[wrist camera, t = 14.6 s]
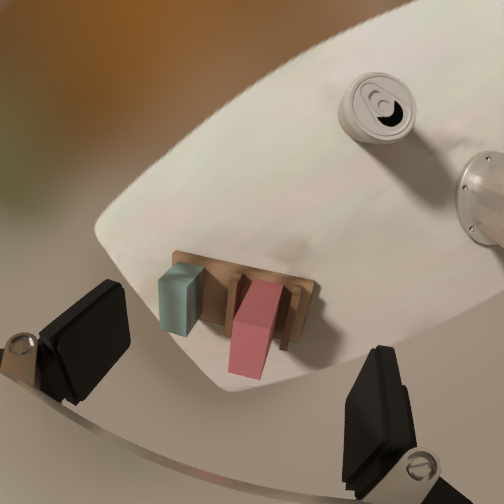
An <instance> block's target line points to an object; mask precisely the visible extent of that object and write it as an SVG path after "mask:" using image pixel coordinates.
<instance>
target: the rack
mask: <svg viewBox="0 0 504 504" xmlns="http://www.w3.org/2000/svg"><path fill="white" fill-rule="evenodd" d="M254 279H257V280H262V281H267V282H272V283H276V284H281V285H283V290H282V295H281V300H280V305H279V310H278V315H277V320H276V325H275V330H274V334H273V337H274V338H278V339H282V341H281V345H280V349H279V350H283V351H286V350H287V347H288V343H289V341H292V342H297V343H298V342H299V339H300V335H301V332H302V328H303V324H304V321H305V317H306V313H307V310H308V306H309V302H310V298H311V294H312V291H313V287H314V280H309V279H304V278H300V277H295V276H290V275H286V274H281V273H276V272H272V271H267V270H262V269H258V268H253V267H249V266H244V265H239V264H235V263H230V262H226V261H221V260H217V259H212V258H208V257H203V256H199V255H195V254H190V253H186V252H181V251H177V250H176V251H175V252H173V253H172V268H170V269H169V270H168V271H167V272H166V273H165V274H164V275H163V276H162V277H161V278H160V279H159V280H158V291H159V314H160V329H162V330H165V331H168V332H171V333H174V334H177V335H180V336H183V337H187V335H188V334H189V332H190V331H191V329H192V328H193V327H194V325H195V324H196V322H197V321H198V319H202V320H206V321H210V322H213V323H217V324H221V325H225V330H224V336H226V337H229V338H231V336H232V326H233V320H234V318H235V316H236V314H237V312H238V310H239V308H240V306H241V304H242V302H243V300H244V298H245V296H246V294H247V292H248V290H249V288H250V286H251V284H252V282H253V280H254Z"/></svg>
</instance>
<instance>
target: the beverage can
mask: <svg viewBox="0 0 504 504" xmlns="http://www.w3.org/2000/svg"><path fill="white" fill-rule="evenodd" d="M338 118H339V122H340V125H341V127H342V128H343V130H344V131H345V133H346V134H347V135H349V136H350V137H351V138H353V139H354V140H357V141H359V142H364V143H374V144H391V143H396V142H398V141H400V140H402V139H403V138H405V137H406V136H407V135H408V134H409V133H410V131H411V130H412V128H413V126H414V123H415V119H416V104H415V100H414V97H413V95H412V93H411V91H410V90H409V89H408V87H407V86H406V85H405V84H404V83H403V82H402V81H400V80H399V79H397V78H395V77H393V76H391V75H389V74H386V73H381V72H370V73H365V74H363V75H360V76H359V77H357V78H356V79H354V80H353V81H352V82H351V84H350V85H349V86H348V88H347V90H346V92H345V94H344V96H343V98H342V100H341V103H340V105H339V109H338Z"/></svg>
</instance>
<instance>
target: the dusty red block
mask: <svg viewBox="0 0 504 504" xmlns="http://www.w3.org/2000/svg"><path fill="white" fill-rule="evenodd" d="M282 290H283V285H281V284H276V283H272V282H267V281H262V280H257V279H254V280H253V282H252V284H251V286H250V288H249V290H248V292H247V294H246V296H245V298H244V300H243V302H242V304H241V306H240V308H239V310H238V312H237V314H236V316H235V318H234V320H233V326H232V336H231V346H230V356H229V367H228V372H230V373H234V374H238V375H242V376H246V377H250V378H254V379H258V380H260V379H261V375H262V372H263V369H264V365H265V362H266V358H267V355H268V352H269V348H270V345H271V341H272V338H273V334H274V330H275V325H276V320H277V315H278V310H279V305H280V300H281V295H282Z"/></svg>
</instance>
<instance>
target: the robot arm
mask: <svg viewBox="0 0 504 504" xmlns="http://www.w3.org/2000/svg"><path fill="white" fill-rule="evenodd" d="M486 157H487V159H486ZM463 186H464V187H463ZM462 187H463V189H462ZM456 208H457V214H458V217H459V220H460V223H461V225H462V227H463V228H464V230H465V231H466V232H467V234H468V235H469V236H470V237H472V238H473V239H474V240H475V241H477V242H479V243H481V244H484V245H497V244H499V245H500V246H501V247H503V248H504V154H503V153H500V152H495V151H486V152H483V153H480V154H478V155H476V156H475V157H473V158H472V159H471V160H470V161H469V162H468V163H467V165H466V166H465V168H464V169H463V171H462V173H461V176H460V178H459V181H458V185H457V191H456ZM39 335H40V338H39V339H38V340H37V338H36V336H34V335H33V334H31V333H25V332H23V333H18V334H16V335H14V336H12V337H11V338H10V339H9V340H8V341H7V343H6V345H5V348H4V349H0V504H473V503H472V502H471V501H470V500H469V499H467V498H466V497H465V496H464V495H462V494H461V493H460V492H458V491H457V490H456V489H455V488H453V487H452V486H451V485H450V484H448V483H447V482H446V481H445V480H444V479H442V478H441V477H440V473H441V462H440V460H439V458H438V456H437V455H436V454H435V453H434V452H433V451H431V450H429V449H427V448H423V447H417V442H416V436H415V430H414V423H413V417H412V412H411V406H410V400H409V395H408V390H407V388H406V386H405V385H402V383H401V378H400V373H399V368H398V364H397V359H396V355H395V351H394V348H393V347H387V346H381V345H378V346H377V347H376V349H374V348H372V349H371V350H370V352H369V354H368V357H367V359H366V361H365V363H364V365H363V367H362V369H361V371H360V373H359V375H358V377H357V379H356V381H355V383H354V385H353V387H352V389H351V391H350V393H349V395H348V396H347V399H346V403H345V429H344V452H343V468H342V482H345V483H346V490H353V491H355V497H356V499H355V500H351V499H342V498H333V497H326V496H317V495H310V494H303V493H296V492H290V491H285V490H279V489H273V488H269V487H264V486H259V485H255V484H250V483H246V482H242V481H238V480H234V479H230V478H227V477H223V476H220V475H216V474H213V473H210V472H207V471H203V470H200V469H197V468H194V467H191V466H188V465H185V464H183V463H180V462H177V461H174V460H172V459H169V458H167V457H164V456H162V455H159V454H157V453H154V452H152V451H149V450H147V449H145V448H143V447H140V446H138V445H136V444H133V443H132V442H129V441H127V440H125V439H123V438H121V437H119V436H117V435H115V434H113V433H111V432H109V431H107V430H105V429H103V428H101V427H99V426H97V425H96V424H94V423H92V422H90V421H89V420H87V419H85V418H83V417H81V416H80V415H78V414H76V413H75V412H73V411H72V410H70V409H68V408H67V407H65V406H63V405H62V400H63V399H64V398H65V399H66V400H67V401H69V402H71V403H72V404H74V405H75V406H76V405H77V404H78V403H79V402H80V401H83V400H85V399H86V397H87V396H88V395H89V394H90V392H91V391H92V390H93V389H94V388H95V387H96V386H97V384H98V383H99V382H100V381H101V380H102V378H103V377H104V376H105V375H106V374H107V372H108V371H109V370H110V369H111V368H112V367H113V365H114V364H115V363H116V362H117V361H118V360H119V358H120V357H121V356H122V355H123V354H124V353H125V351H126V350H127V349H128V348H129V346H130V342H131V339H130V332H129V325H128V317H127V309H126V301H125V291H124V289H123V288H122V285H121V284H120V283H119V282H115V281H112V280H109V279H106V280H105V281H103V282H102V283H101V284H99V285H98V286H97V287H96V288H94V289H93V290H91V291H90V292H89V293H88V294H86V295H85V296H84V297H83V298H81V299H80V300H79V301H77V302H76V303H75V304H74V305H72V306H71V307H70V308H69V309H67V310H66V311H65V312H64V313H62V314H61V315H60V316H59V317H57V318H56V319H55V320H54V321H52V322H51V323H50V324H49V325H48V326H46V327H45V328H44V329H43V330H42V331H40V332H39Z"/></svg>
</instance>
